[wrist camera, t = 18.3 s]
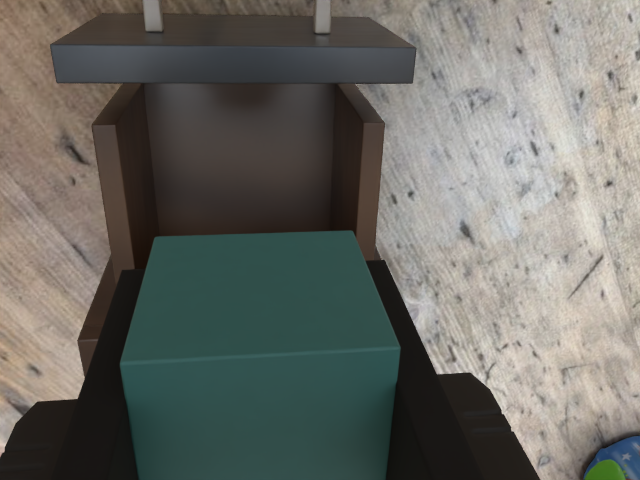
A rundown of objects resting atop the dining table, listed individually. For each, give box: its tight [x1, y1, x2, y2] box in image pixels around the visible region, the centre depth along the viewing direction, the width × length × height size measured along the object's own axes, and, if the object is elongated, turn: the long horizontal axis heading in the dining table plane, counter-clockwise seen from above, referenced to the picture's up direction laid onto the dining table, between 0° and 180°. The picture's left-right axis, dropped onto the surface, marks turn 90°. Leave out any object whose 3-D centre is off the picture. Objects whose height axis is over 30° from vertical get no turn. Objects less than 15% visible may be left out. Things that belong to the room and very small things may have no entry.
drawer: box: [50, 0, 416, 286], centre depth 24 cm, size 21×12×8 cm, turn 178°
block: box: [120, 230, 401, 480], centre depth 12 cm, size 4×4×4 cm
